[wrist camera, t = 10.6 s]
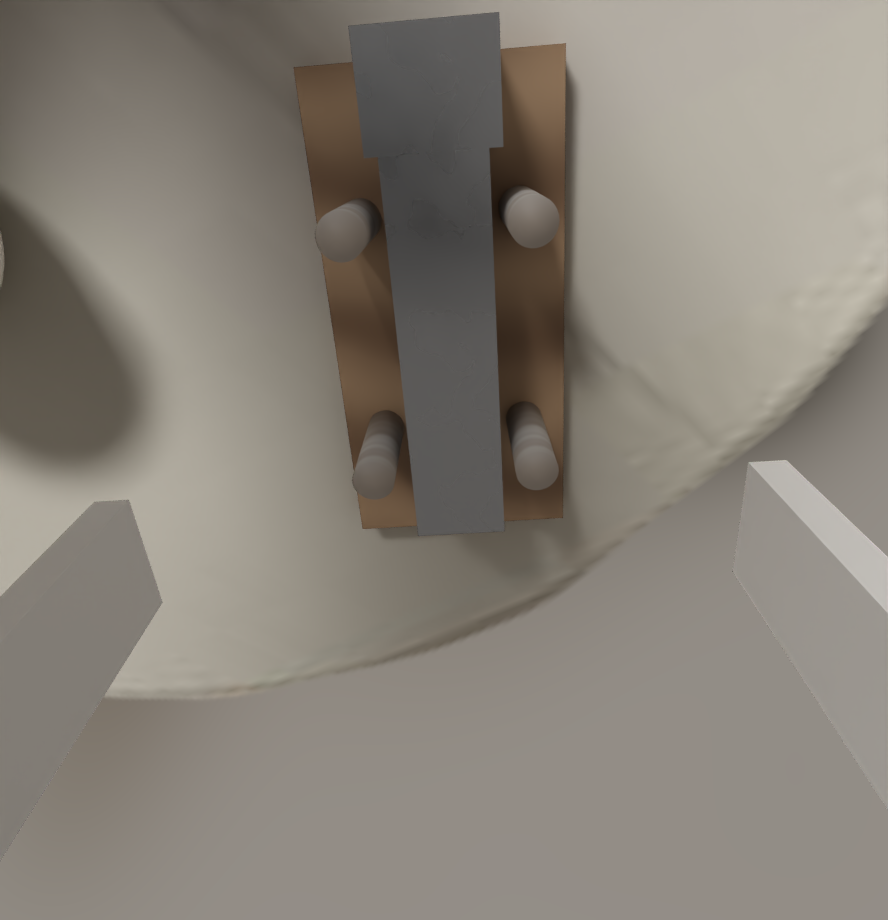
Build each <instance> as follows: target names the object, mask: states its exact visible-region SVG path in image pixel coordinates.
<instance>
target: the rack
mask: <svg viewBox="0 0 888 920" xmlns="http://www.w3.org/2000/svg"><path fill="white" fill-rule="evenodd" d="M500 53H501V85H502V117H503V147H496V148H489V152H490V178H491V203H492V228H493V254H494V279H495V304H496V329H497V355H498V380H499V405H500V431H501V456H502V481H503V507H504V521H514V520H531V519H549V518H563V402H564V240H565V78H566V43H564V44H553V45H541V46H530V47H519V48H507V49H500ZM294 74H295V81H296V87H297V94H298V101H299V107H300V114H301V121H302V127H303V134H304V141H305V147H306V154H307V161H308V167H309V174H310V181H311V187H312V194H313V201H314V207H315V214H316V221H317V226H316V231H315V239H316V243H317V246H318V248H319V250H320V251H321V254H322V261H323V267H324V274H325V281H326V287H327V294H328V301H329V307H330V314H331V321H332V327H333V334H334V341H335V347H336V354H337V361H338V367H339V374H340V381H341V388H342V394H343V401H344V408H345V414H346V421H347V428H348V434H349V441H350V448H351V454H352V461H353V468H354V474H353V479H352V481H353V486H354V488H355V490H356V491H357V494H358V501H359V508H360V514H361V521H362V528H363V529H371V528H389V527H407V526H417V520H416V510H415V501H414V492H413V482H412V473H411V464H410V455H409V445H408V436H407V427H406V417H405V408H404V399H403V389H402V380H401V371H400V361H399V352H398V343H397V333H396V324H395V315H394V305H393V296H392V287H391V277H390V268H389V259H388V250H387V240H386V231H385V222H384V212H383V203H382V194H381V184H380V175H379V166H378V157H373V158H364V156H363V148H362V139H361V130H360V122H359V113H358V104H357V96H356V87H355V78H354V70H353V62H349V63H338V64H326V65H315V66H304V67H294Z"/></svg>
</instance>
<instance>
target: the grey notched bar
mask: <svg viewBox="0 0 888 920" xmlns="http://www.w3.org/2000/svg"><path fill="white" fill-rule="evenodd" d="M348 27H349V35H350V44H351V53H352V61H353V70H354V78H355V87H356V96H357V104H358V113H359V122H360V130H361V139H362V148H363V156H364V158H373V157H378V166H379V175H380V184H381V194H382V203H383V212H384V222H385V231H386V240H387V250H388V259H389V268H390V277H391V287H392V296H393V305H394V315H395V324H396V333H397V343H398V352H399V361H400V371H401V380H402V389H403V399H404V408H405V417H406V427H407V436H408V445H409V455H410V464H411V473H412V482H413V492H414V501H415V510H416V520H417V529H418V536H427V535H445V534H463V533H481V532H499V531H504V507H503V481H502V456H501V431H500V405H499V380H498V355H497V329H496V304H495V279H494V254H493V228H492V203H491V178H490V152H489V148H496V147H503V117H502V85H501V53H500V21H499V12H494V13H483V14H472V15H461V16H450V17H439V18H428V19H417V20H406V21H395V22H385V23H374V24H363V25H352V26H348Z"/></svg>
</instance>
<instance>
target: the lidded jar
mask: <svg viewBox="0 0 888 920" xmlns="http://www.w3.org/2000/svg"><path fill="white" fill-rule="evenodd" d="M4 262H5V261H4V246H3V241H2V236H1V232H0V288H1V285H2V281H3V273H4Z"/></svg>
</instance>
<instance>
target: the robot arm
mask: <svg viewBox="0 0 888 920" xmlns="http://www.w3.org/2000/svg"><path fill="white" fill-rule="evenodd" d="M732 572H733V573H734V575H735V576H736V578H737V579H738V581H739V582H740V584H741V585H742V587H743V589H744V590H745V592H746V593H747V595H748V596H749V598H750V599H751V601H752V603H753V604H754V606H755V607H756V609H757V610H758V612H759V613H760V615H761V616H762V618H763V619H764V620H765V622H766V624H767V626H768V627H769V629H770V630H771V632H772V633H773V635H774V636H775V638H776V639H777V641H778V642H779V644H780V645H781V647H782V649H783V650H784V652H785V653H786V655H787V656H788V658H789V659H790V661H791V662H792V664H793V665H794V667H795V668H796V670H797V671H798V673H799V675H800V676H801V678H802V679H803V681H804V682H805V684H806V685H807V687H808V688H809V690H810V691H811V693H812V695H813V696H814V698H815V699H816V701H817V702H818V704H819V705H820V707H821V708H822V710H823V711H824V713H825V715H826V716H827V718H828V719H829V721H830V722H831V724H832V725H833V727H834V728H835V730H836V731H837V733H838V734H839V736H840V737H841V739H842V741H843V742H844V744H845V745H846V747H847V748H848V750H849V751H850V753H851V754H852V756H853V757H854V759H855V761H856V762H857V764H858V765H859V767H860V768H861V770H862V771H863V773H864V774H865V776H866V777H867V779H868V780H869V782H870V784H871V785H872V787H873V788H874V790H875V791H876V793H877V794H878V796H879V797H880V799H881V800H882V802H883V803H884V805H885V807H886V808H887V810H888V557H887V556H886V555H885V554H884V553H883V552H882V551H881V550H880V549H879V548H878V547H877V546H876V545H875V544H874V543H873V542H871V541H870V540H869V539H868V538H867V537H866V536H865V535H864V534H863V533H862V532H861V531H860V530H859V529H858V528H857V527H856V526H855V525H854V524H853V523H852V522H851V521H849V520H848V519H847V518H846V517H845V516H844V515H843V514H842V513H841V512H840V511H839V510H838V509H837V508H836V507H835V506H834V505H833V504H832V503H830V501H829V500H827V499H826V498H825V497H824V496H823V495H822V494H821V493H820V492H819V491H818V490H817V489H816V488H815V487H814V486H813V485H812V484H811V483H810V482H809V481H808V480H807V479H805V478H804V477H803V476H802V475H801V474H800V473H799V472H798V471H797V470H796V469H795V468H794V467H793V466H792V465H791V464H790V463H789V462H788V461H787V460H780V461H763V462H749V463H748V469H747V476H746V483H745V490H744V496H743V503H742V510H741V517H740V524H739V530H738V537H737V544H736V551H735V558H734V564H733V571H732ZM161 604H162V599H161V596H160V593H159V590H158V587H157V584H156V581H155V578H154V575H153V572H152V569H151V566H150V563H149V560H148V557H147V554H146V551H145V547H144V544H143V541H142V538H141V535H140V532H139V529H138V526H137V523H136V520H135V517H134V514H133V511H132V508H131V505H130V502H129V500H118V501H102V502H94V503H93V504H92V505H91V506H90V507H89V508H88V509H87V510H86V511H85V512H84V513H83V514H82V515H81V516H80V517H79V518H78V519H77V520H76V521H75V522H74V523H73V524H72V525H71V526H70V527H69V528H68V529H67V530H66V531H65V532H64V533H63V534H62V535H61V536H60V537H59V538H58V539H57V540H56V541H55V542H54V543H53V544H52V545H51V546H50V547H49V548H48V549H47V550H46V551H45V552H44V553H43V554H42V555H41V556H40V557H39V558H38V559H37V560H36V561H35V562H34V563H33V564H32V565H31V566H30V567H29V568H28V569H27V570H26V571H25V572H24V573H23V574H22V575H21V576H20V577H19V578H18V579H17V580H16V581H15V582H14V583H13V584H12V585H11V586H10V587H9V588H8V590H7V591H6V592H5V593H4V594H3V595H2V596H1V597H0V861H1V859H2V858H3V856H4V854H5V853H6V851H7V850H8V848H9V846H10V845H11V843H12V842H13V840H14V839H15V837H16V835H17V834H18V832H19V831H20V829H21V827H22V826H23V824H24V822H25V821H26V819H27V818H28V816H29V814H30V813H31V811H32V810H33V808H34V807H35V805H36V803H37V802H38V800H39V798H40V797H41V795H42V794H43V792H44V791H45V789H46V787H47V785H48V784H49V782H50V781H51V779H52V778H53V776H54V775H55V773H56V771H57V770H58V768H59V766H60V765H61V764H62V762H63V760H64V759H65V757H66V756H67V754H68V752H69V751H70V749H71V748H72V746H73V744H74V743H75V741H76V740H77V738H78V736H79V735H80V733H81V732H82V730H83V728H84V727H85V725H86V724H87V722H88V720H89V719H90V717H91V715H92V714H93V712H94V711H95V709H96V708H97V706H98V704H99V703H100V701H101V699H102V698H103V696H104V695H105V693H106V692H107V690H108V689H109V687H110V685H111V684H112V682H113V681H114V679H115V677H116V676H117V674H118V673H119V671H120V669H121V668H122V666H123V665H124V663H125V661H126V660H127V658H128V657H129V655H130V653H131V652H132V650H133V649H134V647H135V645H136V644H137V642H138V641H139V639H140V637H141V636H142V634H143V633H144V631H145V629H146V628H147V626H148V625H149V623H150V621H151V620H152V618H153V617H154V615H155V613H156V612H157V610H158V609H159V607H160V606H161Z"/></svg>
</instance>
